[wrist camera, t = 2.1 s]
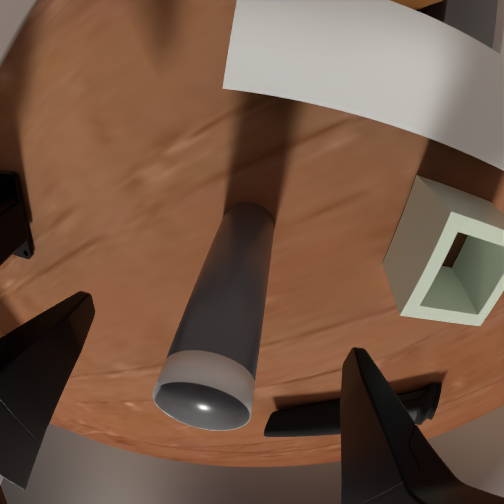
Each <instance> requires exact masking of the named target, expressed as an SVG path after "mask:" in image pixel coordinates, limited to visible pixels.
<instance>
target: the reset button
mask: <svg viewBox="0 0 504 504" xmlns="http://www.w3.org/2000/svg"><path fill="white" fill-rule="evenodd" d="M390 1H393V2H396V3H398V4H401V5H404V6H406V7H409V8H411V9H414V10H418V9H421V8H423V7H426V6H429V5H432V4H434V3H437V2H440V1H442V0H390Z"/></svg>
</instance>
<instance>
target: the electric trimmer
mask: <svg viewBox="0 0 504 504" xmlns="http://www.w3.org/2000/svg"><path fill="white" fill-rule="evenodd" d="M441 387H442V383H440V384H437V385H436V383H435V382H433V383H431V384H430V385H429V387H428V388H427V389H426V390H421V391H417V392H412V393H407V394H402V395H397V396H398V398H399V399H400V401H401V402H402V404H403V405H404V407H405V408H406V410H407V411H408V413H409V414H410V416H411V417H412V419H413V420H414V422H415V424H417V425H421V424H422V423H423V421H425V420H426V419H427V418H428V419H430V420H432V418H433V416H434V414H435V411H436V408H437V405H438V402H439V398H440V393H441ZM436 389H437V390H436ZM334 434H341V422H340V400H339V401H333V402H328V403H322V404H316V405H311V406H305V407H299V408H293V409H287V410H280V411H275V412H273V413H272V414H271V415H270V417H269V420H268V422H267V425H266V427H265V430H264V436H266V437H296V436H319V435H334Z"/></svg>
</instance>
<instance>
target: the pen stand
mask: <svg viewBox="0 0 504 504" xmlns="http://www.w3.org/2000/svg"><path fill="white" fill-rule="evenodd" d="M457 232H460V233H463V234H467V235H468V236H467V238H466V240H465V242H464V244H463V246H462V248H461V250H460V252H459V254H458V256H457V258H456V260H455V262H454V264H453V266H452V268H450V267H446V266H442V264H443V262H444V260H445V258H446V256H447V254H448V252H449V249H450V247H451V245H452V243H453V241H454V239H455V237H456V235H457ZM382 265H383V268H384V270H385V273H386V276H387V279H388V282H389V284H390V287H391V290H392V293H393V296H394V299H395V302H396V305H397V308H398V311H399V314H400V315H401V316H408V317H415V318H422V319H429V320H436V321H444V322H451V323H459V324H467V325H475V326H480V325H481V324H482V323H483V321H484V320H485V318H486V317H487V315H488V314H489V312H490V311H491V309H492V308H493V306H494V305H495V303H496V302H497V300H498V299H499V297H500V296H501V294H502V292H503V291H504V213H503V212H502V211H501V210H500V209H498V208H497V207H496V206H495V205H494V204H493V203H492V202H489V201H487V200H485V199H482V198H479V197H477V196H474V195H472V194H469V193H467V192H464V191H461V190H459V189H456V188H453V187H450V186H448V185H445V184H442V183H439V182H436V181H433V180H430V179H427V178H424V177H421V176H418V175H416V178H415V181H414V184H413V187H412V189H411V192H410V195H409V198H408V201H407V203H406V206H405V209H404V211H403V214H402V217H401V219H400V222H399V224H398V227H397V229H396V232H395V234H394V237H393V239H392V242H391V244H390V247H389V249H388V251H387V254H386V256H385V258H384V261H383V263H382Z"/></svg>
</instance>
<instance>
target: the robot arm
mask: <svg viewBox="0 0 504 504" xmlns="http://www.w3.org/2000/svg"><path fill="white" fill-rule="evenodd" d="M12 254H13V255H16V256H20V257H23V258H26V259H30V258H31V257H32V256H33V254H34V251H33V247H32V243H31V239H30V235H29V230H28V226H27V221H26V216H25V211H24V205H23V200H22V194H21V187H20V180H19V176H18V175H17V173H16V172H12V171H1V170H0V266H1V265H2V264H3V263H4V262H5V261H6V260H7V259H8V258H9V257H10V256H11V255H12ZM94 315H95V308H94V304H93V300H92V296H91V294H89V293H87V292H83V291H79V292H77V293H76V294H74V295H72V296H70V297H69V298H67V299H65V300H63V301H62V302H60V303H58V304H56V305H55V306H53V307H51V308H50V309H48V310H46V311H45V312H43V313H41V314H39V315H38V316H36V317H34V318H33V319H31V320H29V321H28V322H26V323H24V324H23V325H21V326H19V327H18V328H16V329H14V330H13V331H11V332H10V333H8V334H6V336H3V337H1V338H0V484H1V482H2V479H3V477H4V478H5V479H7V480H9V481H10V482H12V483H14V484H15V485H17V486H19V487H20V488H22V489H24V490H25V488H26V486H27V483H28V480H29V477H30V474H31V471H32V468H33V465H34V462H35V460H36V457H37V454H38V451H39V449H40V446H41V443H42V440H43V438H44V435H45V433H46V430H47V427H48V425H49V422H50V420H51V418H52V415H53V413H54V410H55V408H56V406H57V403H58V401H59V399H60V396H61V394H62V392H63V390H64V387H65V385H66V383H67V381H68V378H69V376H70V374H71V372H72V370H73V368H74V366H75V363H76V361H77V359H78V357H79V355H80V353H81V351H82V348H83V345H84V343H85V340H86V337H87V334H88V332H89V329H90V326H91V324H92V321H93V319H94ZM340 422H341V504H504V498H503V497H500V496H497V495H494V494H491V493H488V492H485V491H482V490H479V489H477V488H474V487H471V486H468V485H466V484H464V483H463V482H461V481H460V480H459V479H457V478H456V477H455V476H454V474H453V473H452V472H451V471H450V469H449V468H448V467H447V466H446V465H445V463H444V462H443V461H442V459H441V458H440V457H439V456H438V454H437V453H436V452H435V451H434V449H433V448H432V447H431V445H430V444H429V443H428V441H427V440H426V438H425V437H424V435H423V434H422V433H421V431H420V429H419V428H418V426H417V425H415V422H414V420H413V419H412V417H411V416H410V414H409V413H408V411H407V410H406V408H405V407H404V405H403V404H402V402H401V401H400V399H399V398H398V396H397V395H396V394H395V392H394V391H393V389H392V388H391V386H390V385H389V383H388V382H387V380H386V379H385V377H384V376H383V374H382V373H381V372H380V370H379V369H378V367H377V366H376V364H375V363H374V361H373V360H372V358H371V357H370V356H369V354H368V353H367V351H366V350H365V349H363V348H357V347H354V348H352V349H351V351H350V352H349V354H348V356H347V358H346V359H345V361H344V363H343V368H342V385H341V399H340ZM0 504H7V502H6V499H5V497H4V494H3V491H2V488H1V485H0Z"/></svg>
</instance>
